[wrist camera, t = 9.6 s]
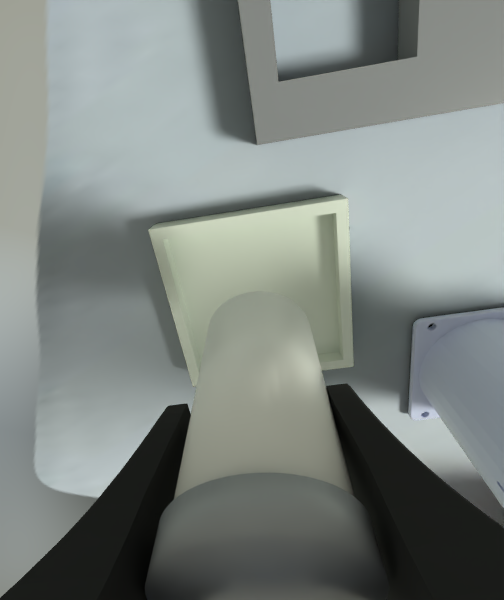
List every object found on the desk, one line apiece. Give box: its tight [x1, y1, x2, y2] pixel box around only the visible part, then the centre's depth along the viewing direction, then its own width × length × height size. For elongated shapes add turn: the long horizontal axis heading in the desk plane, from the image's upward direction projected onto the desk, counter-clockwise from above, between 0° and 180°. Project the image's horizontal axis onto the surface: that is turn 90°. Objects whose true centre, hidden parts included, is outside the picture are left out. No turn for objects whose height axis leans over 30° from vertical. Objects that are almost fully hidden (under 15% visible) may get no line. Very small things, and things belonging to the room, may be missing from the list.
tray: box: [148, 194, 354, 387], centre depth 19 cm, size 10×10×2 cm
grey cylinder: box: [145, 291, 389, 600], centre depth 10 cm, size 4×4×8 cm
